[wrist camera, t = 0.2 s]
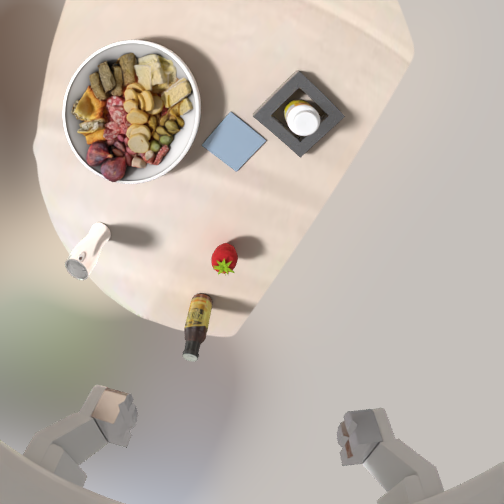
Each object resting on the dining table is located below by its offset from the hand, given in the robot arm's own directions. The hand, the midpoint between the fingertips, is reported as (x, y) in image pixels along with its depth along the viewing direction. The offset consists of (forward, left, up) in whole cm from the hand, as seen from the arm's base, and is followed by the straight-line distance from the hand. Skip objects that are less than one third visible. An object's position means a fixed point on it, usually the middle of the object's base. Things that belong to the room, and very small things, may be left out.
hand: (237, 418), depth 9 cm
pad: (+7, +1, -51) cm, 52 cm away
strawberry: (+28, +16, -51) cm, 61 cm away
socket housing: (-6, +6, -51) cm, 52 cm away
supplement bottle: (-6, +6, -52) cm, 52 cm away
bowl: (+14, -20, -52) cm, 57 cm away
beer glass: (+47, -12, -52) cm, 71 cm away
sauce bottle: (+49, +23, -52) cm, 75 cm away
